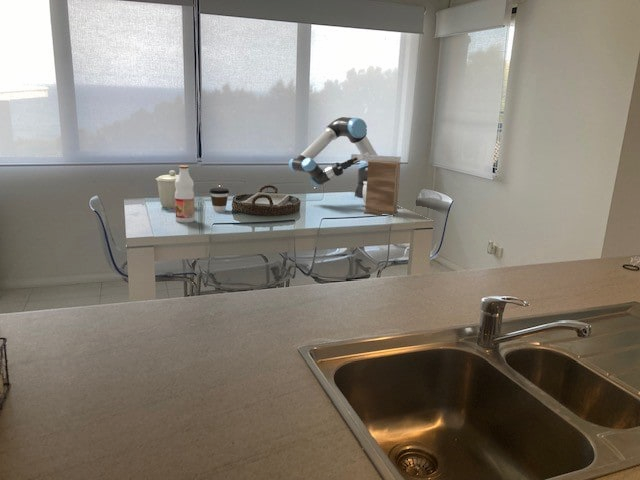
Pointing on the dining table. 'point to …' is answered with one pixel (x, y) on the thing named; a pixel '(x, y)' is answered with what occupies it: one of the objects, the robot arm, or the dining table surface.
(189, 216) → the fruit juice
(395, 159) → the steel bar
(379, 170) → the walnut tower
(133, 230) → the dining table surface
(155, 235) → the dining table surface
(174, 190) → the canister
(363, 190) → the jar
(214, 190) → the coffee cup
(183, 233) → the dining table surface
